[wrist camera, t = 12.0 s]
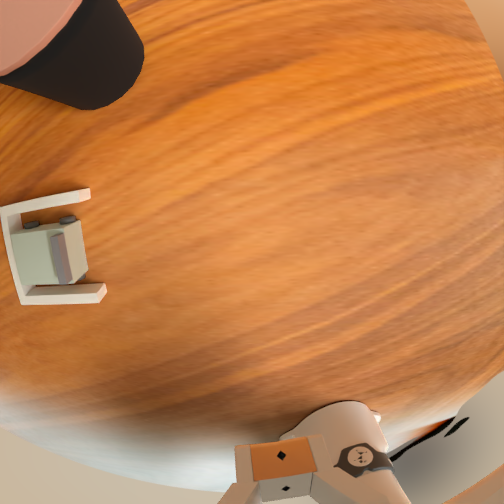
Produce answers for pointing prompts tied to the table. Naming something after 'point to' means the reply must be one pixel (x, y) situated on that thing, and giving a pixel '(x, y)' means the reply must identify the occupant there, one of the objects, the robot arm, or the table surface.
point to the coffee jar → (69, 50)
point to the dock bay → (46, 293)
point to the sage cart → (50, 252)
